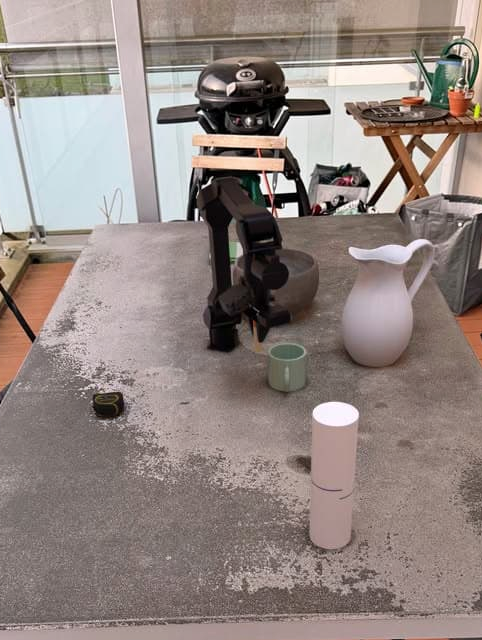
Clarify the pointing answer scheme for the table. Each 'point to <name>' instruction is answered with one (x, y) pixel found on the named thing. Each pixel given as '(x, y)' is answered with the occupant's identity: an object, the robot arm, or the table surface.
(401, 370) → the table surface
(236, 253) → the dish towel
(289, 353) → the green handled mug
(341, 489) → the cylindrical container
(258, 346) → the marker
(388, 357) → the pitcher
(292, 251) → the bowl
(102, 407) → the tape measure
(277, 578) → the table surface
